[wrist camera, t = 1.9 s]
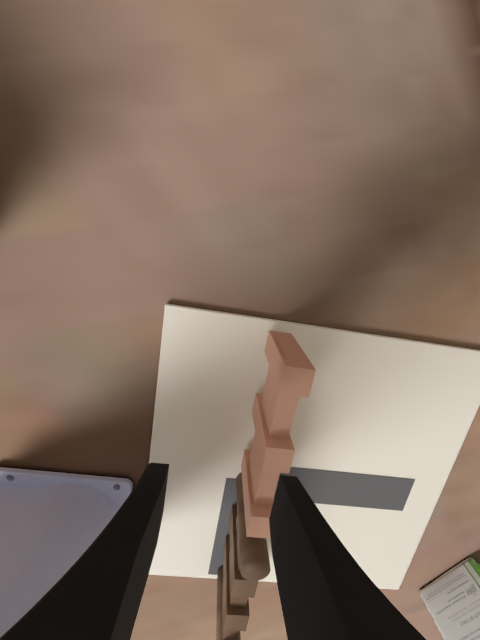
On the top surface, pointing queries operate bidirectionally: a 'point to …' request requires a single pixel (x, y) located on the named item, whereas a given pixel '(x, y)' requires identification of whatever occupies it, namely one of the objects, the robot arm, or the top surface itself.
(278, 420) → the folding fence panel
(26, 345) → the top surface
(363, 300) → the top surface
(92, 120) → the top surface
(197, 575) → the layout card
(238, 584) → the fixed fence section
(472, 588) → the syrup box
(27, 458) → the top surface
